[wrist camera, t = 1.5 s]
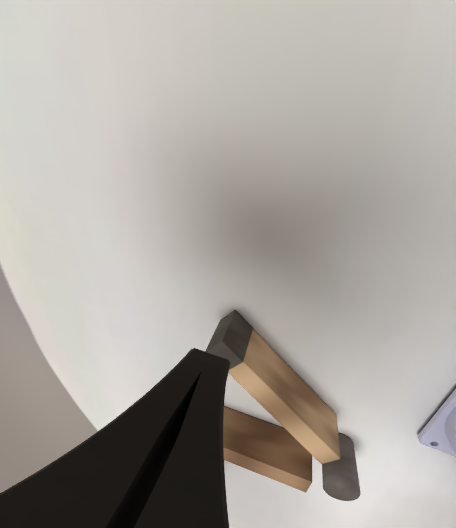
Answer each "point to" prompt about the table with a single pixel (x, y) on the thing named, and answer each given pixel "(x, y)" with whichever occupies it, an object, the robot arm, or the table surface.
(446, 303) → the table surface
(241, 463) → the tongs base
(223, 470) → the robot arm
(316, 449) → the wooden bar grey ends
